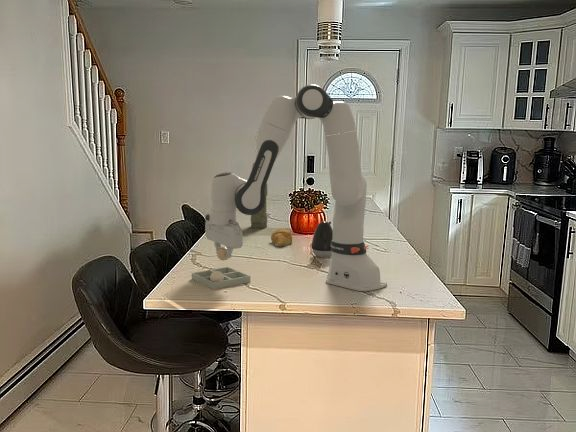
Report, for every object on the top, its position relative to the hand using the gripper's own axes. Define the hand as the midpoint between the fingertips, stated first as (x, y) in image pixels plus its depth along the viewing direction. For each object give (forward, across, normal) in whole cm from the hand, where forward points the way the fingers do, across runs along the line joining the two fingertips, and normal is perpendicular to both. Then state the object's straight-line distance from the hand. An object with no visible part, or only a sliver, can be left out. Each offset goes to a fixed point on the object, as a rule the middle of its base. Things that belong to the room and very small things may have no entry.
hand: (223, 255), depth 199 cm
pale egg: (+8, -8, +7) cm, 13 cm away
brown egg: (+2, 0, 0) cm, 2 cm away
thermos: (+9, +75, -67) cm, 101 cm away
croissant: (+9, +36, -53) cm, 65 cm away
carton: (+8, -4, +4) cm, 10 cm away
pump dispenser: (+8, +5, -52) cm, 53 cm away
